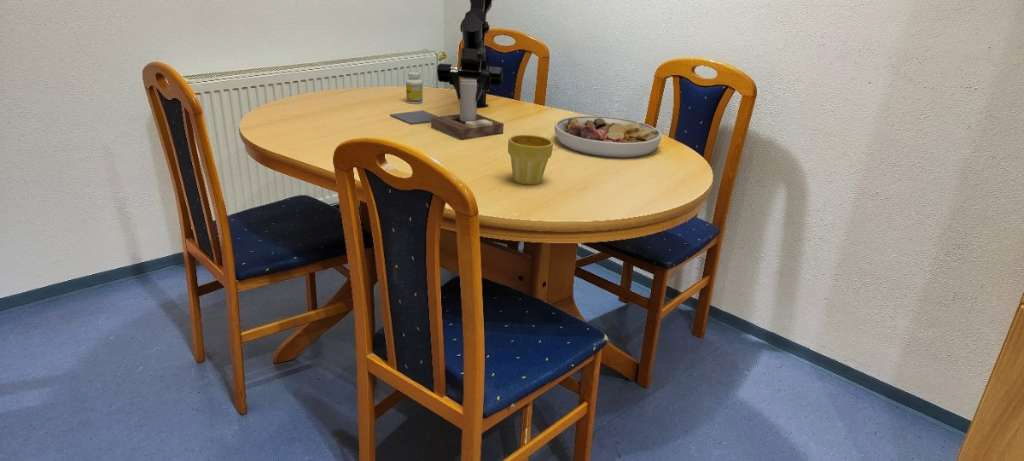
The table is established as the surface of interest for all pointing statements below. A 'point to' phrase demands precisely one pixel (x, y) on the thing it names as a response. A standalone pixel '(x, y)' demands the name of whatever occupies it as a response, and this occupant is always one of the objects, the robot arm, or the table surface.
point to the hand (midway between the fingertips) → (467, 99)
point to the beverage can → (468, 99)
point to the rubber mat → (414, 117)
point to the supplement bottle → (414, 88)
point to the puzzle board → (467, 126)
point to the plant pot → (529, 157)
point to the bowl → (607, 136)
